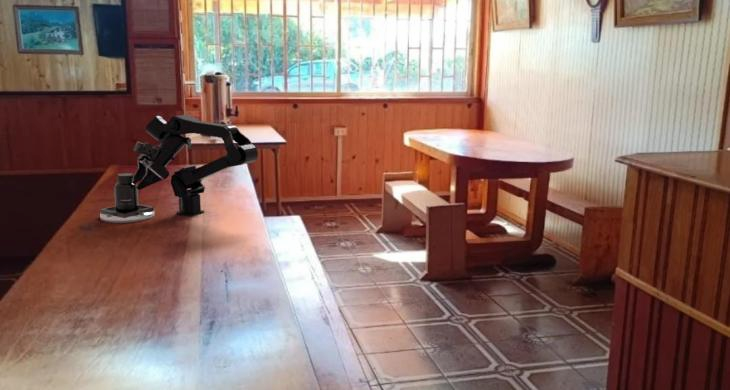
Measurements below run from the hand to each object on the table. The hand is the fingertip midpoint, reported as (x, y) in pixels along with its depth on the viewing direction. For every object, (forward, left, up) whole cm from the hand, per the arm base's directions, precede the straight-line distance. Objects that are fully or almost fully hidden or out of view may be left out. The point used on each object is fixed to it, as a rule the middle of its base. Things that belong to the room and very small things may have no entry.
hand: (134, 186), depth 196 cm
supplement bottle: (+2, +2, -8) cm, 9 cm away
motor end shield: (+2, +2, -10) cm, 10 cm away
